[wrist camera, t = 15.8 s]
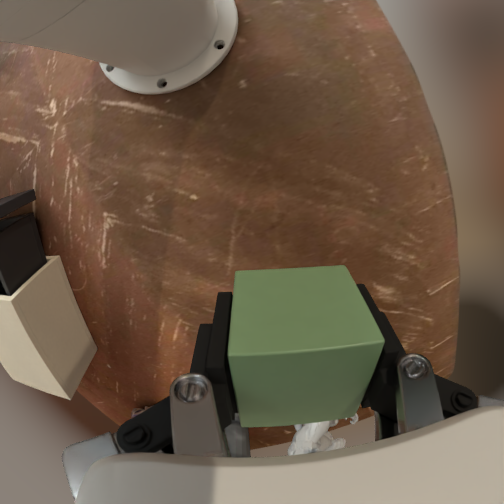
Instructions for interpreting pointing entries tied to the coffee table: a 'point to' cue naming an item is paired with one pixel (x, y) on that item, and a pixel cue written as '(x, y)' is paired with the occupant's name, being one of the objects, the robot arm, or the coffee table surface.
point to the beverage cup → (238, 439)
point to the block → (300, 345)
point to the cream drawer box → (45, 333)
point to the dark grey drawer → (18, 244)
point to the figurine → (316, 438)
